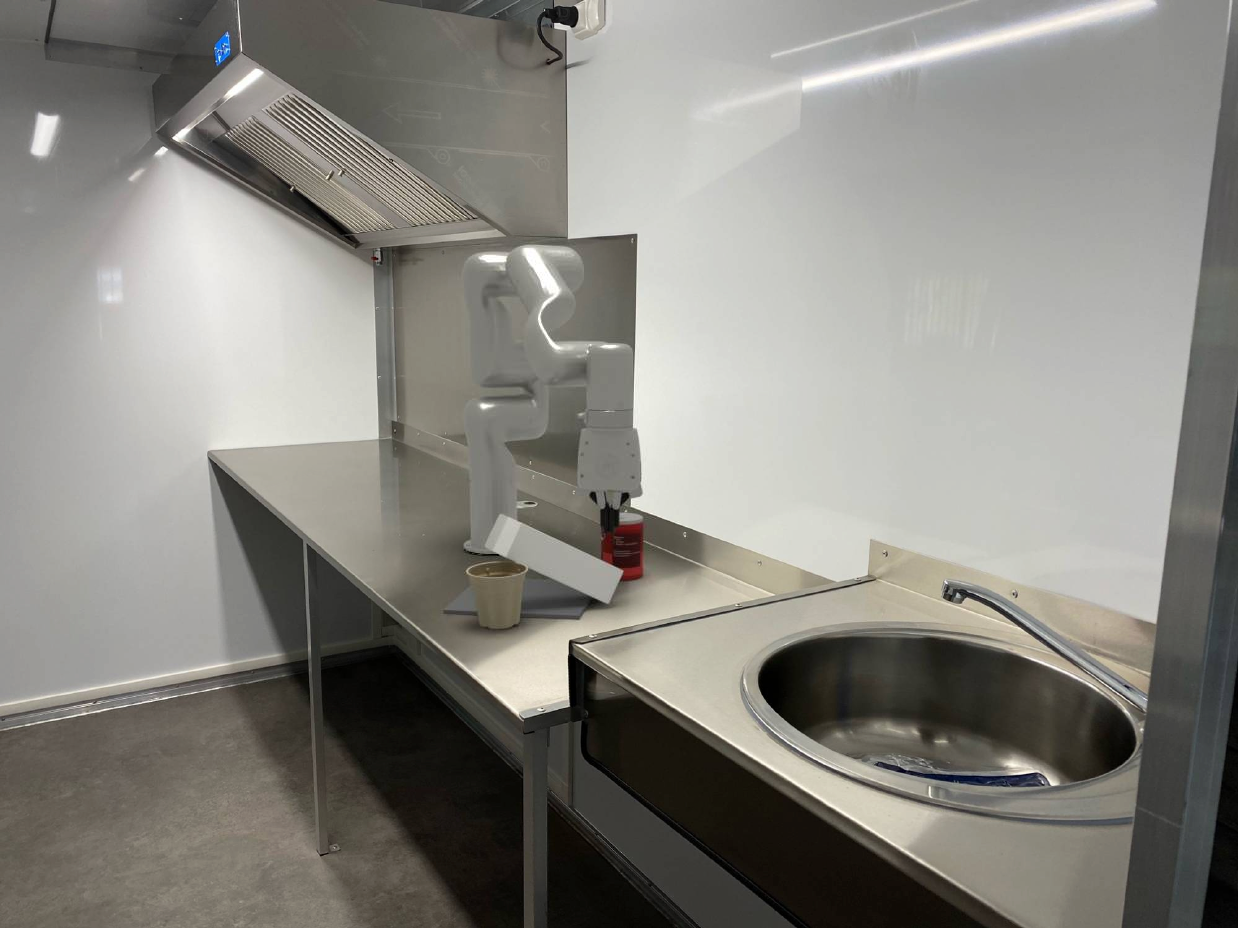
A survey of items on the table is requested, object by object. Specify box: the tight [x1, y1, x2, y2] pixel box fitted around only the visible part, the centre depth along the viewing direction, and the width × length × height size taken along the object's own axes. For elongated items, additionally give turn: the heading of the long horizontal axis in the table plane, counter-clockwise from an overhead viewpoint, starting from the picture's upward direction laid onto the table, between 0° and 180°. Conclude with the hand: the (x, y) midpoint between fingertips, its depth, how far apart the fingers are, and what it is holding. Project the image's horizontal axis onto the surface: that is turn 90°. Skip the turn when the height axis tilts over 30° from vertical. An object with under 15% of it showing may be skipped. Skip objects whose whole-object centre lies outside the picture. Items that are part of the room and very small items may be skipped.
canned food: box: [600, 512, 645, 581], centre depth 170 cm, size 8×8×11 cm
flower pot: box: [465, 560, 529, 630], centre depth 142 cm, size 9×9×9 cm
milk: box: [485, 514, 623, 605], centre depth 150 cm, size 6×6×22 cm
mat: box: [443, 578, 593, 620], centre depth 156 cm, size 20×22×1 cm
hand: (609, 531), depth 152 cm, fingers closed
